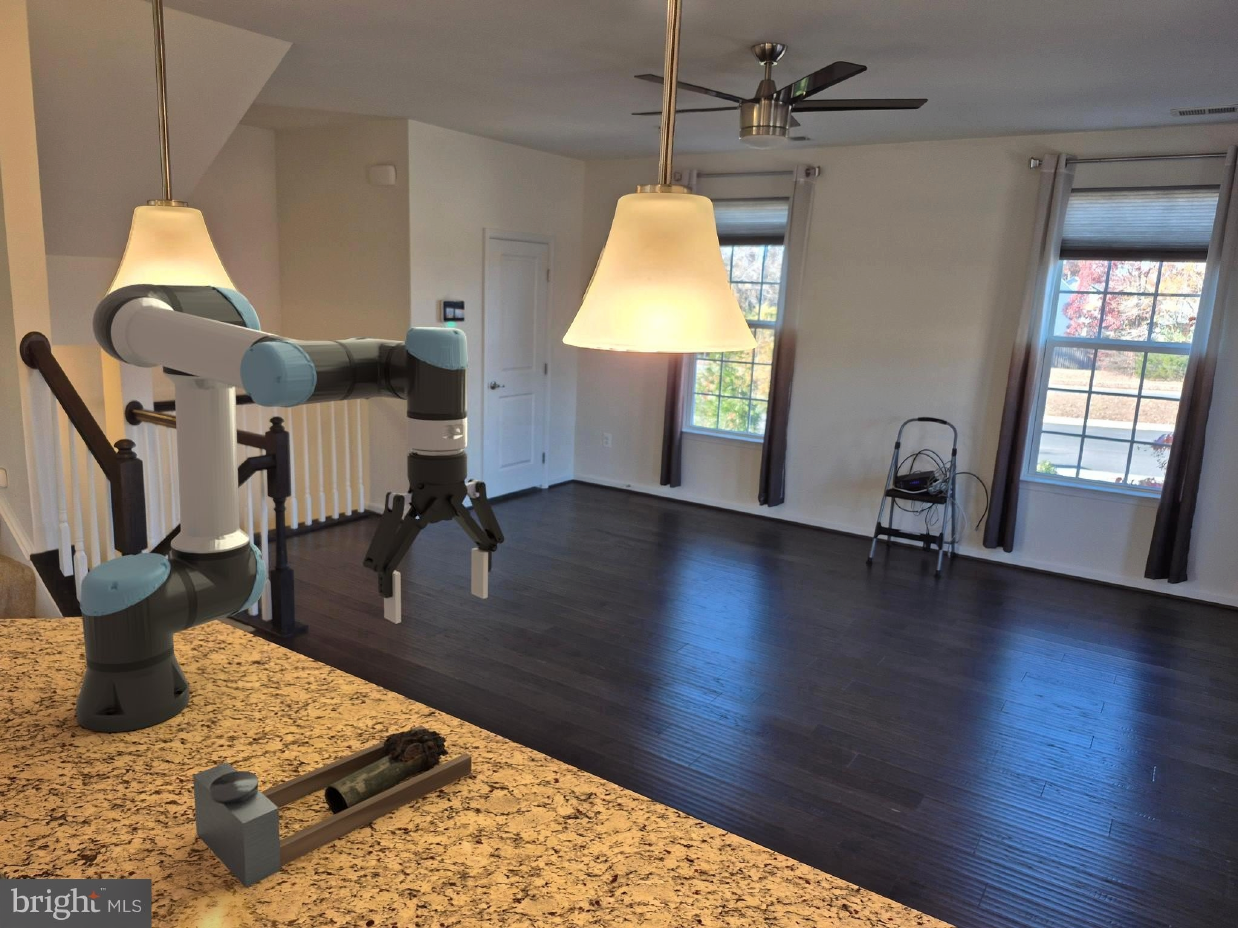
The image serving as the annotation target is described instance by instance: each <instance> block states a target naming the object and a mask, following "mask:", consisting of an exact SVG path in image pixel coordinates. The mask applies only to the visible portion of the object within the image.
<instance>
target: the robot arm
mask: <svg viewBox="0 0 1238 928" xmlns="http://www.w3.org/2000/svg"><path fill="white" fill-rule="evenodd" d="M92 332H93V334H94V339H95V340H96V342H97V344H99V346H100V348H101V349H102V350H103V351H104V352H105V353H107V355H109V356H110V357H112V358H113V359H115V360H117V361H119V362H123V363H124V364H128V365H131V366H135V367H138V368H146V369H148V368H149V369H150V368H157V367H159V366H162V374H163V375H164V376H165V377H166V379H168V380H169V381H170V382H172V384H173V385H174V399H175V400H174V402H175V403H174V404H175V423H176V424H175V425H176V428H175V429H176V446H177V447H176V448H177V450H176V451H177V472H178V473H177V475H178V496H179V497H178V498H179V515H180V517H179V520H180V532H178V534H177V535H175V537H174V538H173V539H171V542H170V557H169V558H167V557H166V556H164V555H163V554H161V553H155V552H141V553H138V554H136V555H135V554H128V555H123V556H119V557H115V558H112V559H110V560H107V561H104V562H102V563H100V564H98V565H97V566H96V565H95V567H93V568H92V569H91V570H89V571H88V572H87V573H86V575H85V576H84V577H83V578H82V580H81V583H80V601H79V608H80V610H81V619H82V627H83V628H82V629H83V638H84V639H83V640H84V641H83V643H84V651H85V659H86V660H85V661H86V664H85V665H86V670H85V673H84V676H83V681H82V683H81V686H80V690H79V694H78V697H77V701H76V704H75V705H76V706H75V709H76V719H77V720H76V721H77V723H78V724H79V725H80V726H81V727H83V728H85V729H88V730H91V731H94V732H100V733H101V732H102V733H103V732H104V733H118V732H119V733H120V732H121V733H122V732H129V731H135V730H139V729H143V728H144V729H145V728H148V727H151V726H155V725H157V724H160V723H162V722H164V721H167V720H170V719H172V718H173V717H175V716H176V715H178V714H180V713H181V712H182V711H183V710H184V709H186V707H187V706H188V704H189V702H190V698H191V697H190V686H189V683H188V680H187V677H186V675H185V674H184V672H183V669H182V668H181V665H180V664H179V662H178V660H177V657H176V655H175V645H174V644H175V643H174V635H175V634H176V633H179V632H182V631H186V630H188V629H189V630H190V629H192V628H195V627H198V626H201V625H204V624H207V623H210V622H214V621H217V620H220V619H224V618H229V617H233V616H235V615H236V614H238V613H240V612H243V611H245V610H248V609H251V607H253V606H254V605H255V604H256V603H257V602H258V601H259V599H260V598H261V597H262V595H263V592H265V591H264V590H265V587H266V583H267V567H266V563H265V562H266V561H265V559H262V557H263V554H262V552H261V550H260V549H259V548H258V546H257V545H256V544H254V543H252V542H251V540H250V539H251V538H250V535H248V533H247V532H245V531H244V530H243V529H241V528H240V510H239V509H240V508H239V507H240V506H239V505H240V503H239V498H240V497H239V470H238V469H239V468H238V467H239V466H238V463H239V462H238V434H237V433H238V430H237V429H238V427H237V396H236V392H237V391H236V390H237V389H236V388H238V389H241V390H244V391H245V393H246V395H247V396H248V397H250V398H251V400H252V402H253V403H255V404H257V405H258V406H261V407H265V408H272V407H275V408H277V407H280V408H293V407H298V406H303V405H313V404H321V403H329V402H338V401H339V402H341V401H353V400H360V399H361V400H363V399H373V398H387V399H396V400H397V399H399V400H402V401H406V446H407V447H408V448H409V449H411V450H410V451H408V453H407V455H406V456H407V457H406V459H407V461H406V462H407V463H406V464H407V471H406V472H407V474H406V475H407V478H408V479H407V480H408V483H409V487H408V490H407V492H406V493H405V492H404V493H403V492H401V493H398V492H394V491H388V492H387V493H386V494H385V500H384V510H383V513H382V515H381V517H380V519H379V523H378V525H377V527H376V529H375V532H374V534H373V537H372V538H371V539H372V540H371V541H370V544H369V546H368V549H367V552H366V554H365V557H364V559H363V562H362V566H363V567H364V568H366V569H368V570H370V571H372V572H374V573H377V577H378V578H377V579H378V580H377V584H378V587H377V590H378V595H379V596H380V597H382V598H383V611H384V612H383V616H384V619H386V620H388V621H390V622H392V623H394V624H399V623H402V600H401V599H402V591H401V588H402V587H401V584H402V583H401V581H402V580H401V572H400V571H397V570H396V569H398V566H399V564H401V562H402V560H403V559H404V557H405V555H406V554H407V552H408V551H409V550H410V548H411V546H412V545H413V543H414V541H415V540H416V538H417V537H418V536H419V534H420V532H421V531H422V530H424V529H425V528H427V526H428V524H437V523H439V522H441V521H446V522H447V521H452V520H453V519H454V520H455V521H456V523H457V524H458V525H459V526H460V528H461V529H463V531H464V532H465V533H466V535H467V536H468V537H469V539H471V540H472V541H473V542H474V544H475V545H476V546H477V547H474V548H471V562H470V563H471V575H470V576H471V582H470V583H471V585H470V587H471V588H470V589H471V590H470V591H471V592H470V593H471V595H474V596H476V597H478V598H480V599H482V600H483V599H488V596H489V595H488V592H489V591H488V589H489V587H488V586H489V573H491V571H492V569H493V567H492V563H493V562H492V559H493V558H492V556H493V553H495V552H496V551H497V550H498V544H499V545H502V544H503V543H504V542H505V536H504V534H503V531H502V529H501V527H500V524H499V522H498V519H497V518H496V515H495V513H494V510H493V509H492V506H491V503H490V502H489V499H488V497H487V495H488V494H487V485H486V482H484V481H482V480H477V479H474V478H470V479H468V481H467V482H466V481H465V480H466V479H467V478H468V453H467V452H466V450H464V449H466V447H467V446H468V381H469V367H470V362H469V355H468V340H467V335H466V333H465V331H463V330H462V329H460V328H455V327H454V328H453V327H439V326H438V327H434V326H413V327H409V329H407V331H406V333H405V334H406V335H405V341H403V340H401V341H400V340H391V339H390V340H389V339H383V338H376V337H371V336H369V337H365V336H364V337H351V338H348V339H340V340H339V339H338V340H337V339H335V340H333V339H331V340H330V339H329V340H328V339H327V340H300V339H294V338H291V337H286V336H282V335H281V336H280V335H278V334H274V333H269V332H265V331H263V330H262V328H261V323H260V320H259V316H258V314H257V312H256V310H255V308H254V306H253V305H252V304H250V301H249V300H248V299H247V297H246V296H244V295H243V294H242V293H240V291H237V290H235V289H232V288H229V287H227V288H226V287H222V286H221V287H220V286H214V285H213V286H212V285H210V284H209V285H182V284H181V285H178V284H175V285H174V284H152V283H137V284H136V283H135V284H130V285H125V286H122V287H120V288H119V287H118V288H117V289H115V290H113V291H111V292H110V293H108V294H106V296H105V297H103V298H102V299H101V300H100V302H99V303H98V304H97V306H96V308H95V310H94V313H93V318H92ZM466 497H468V498H469V501H470V504H471V506H472V507H473V510H474V512H475V514H476V516H477V518H478V519H477V520H478V521H479V523H480V525H479V524H478V523H477V521H476V520H475V519H474V517H472V515H471V512H470V511H469V510H468V508H467V507H466V506H465V505H464V504H463V503H464V501H465V499H466ZM408 505H409V506H410V508H409V509H408ZM407 509H408V511H407ZM405 511H407V512H406V514H405V515H404V512H405ZM417 517H418V518H417ZM402 519H403V522H402V524H401V521H402ZM400 524H401V525H400ZM481 527H482V528H481Z"/></svg>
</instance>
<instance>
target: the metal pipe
mask: <svg viewBox="0 0 1238 928" xmlns="http://www.w3.org/2000/svg"><path fill="white" fill-rule="evenodd" d="M406 731H407V732H406ZM406 731H403V730H402V731H401V732H397V733H391V734H390V735H389V736H388V737H387V738H386V739H385V742H384V746H383V750H382V752H381V753H380V755H379V760H378V761H376V762H374V763H372V764H370V765H368V766H366V767H364V768H363V769H360V770H358V771H356V772H354V773H353V774H351V775H349V776H347V777H345V778H343V779H341V780H339V781H337V782H335V783H333V784H331V785H329V786H328V787H326V788H325V790H324V799H325V802H326V805H327V807H328V809H329V810H330V812H331V813H332V814H333V815H335V814H337V813H339V812H342V811H344V810H346V809H348V808H350V807H352V806H354V805H356V804H359V803H361V802H363V801H365V800H367V799H369V798H371V797H373V796H376V795H378V794H380V793H382V792H384V791H386V790H388V789H390V788H393V787H395V786H397V785H399V784H401V783H403V782H405V780H407V779H408V778H409V779H410V777H413V776H416V775H417V774H420V773H425V772H427V771H429V770H431V769H433V768H435V767H436V766H438V765H439V764H440V758H441V757H445V756H447V755H448V754H449V751H447V749H446V748H445V747H446V744H445V743H447V739H446V737H445V736H442V735H440V732H437V731H436V730H428V729H427V728H426V729H419V730H411V729H408V730H406Z"/></svg>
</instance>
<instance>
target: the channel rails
mask: <svg viewBox="0 0 1238 928" xmlns="http://www.w3.org/2000/svg"><path fill="white" fill-rule="evenodd" d="M419 729H426V730H427V727H425V726H423V725H422V724H421V725H418V726H416V727H414V728H413V727H412V728H411V729H410V730H419ZM407 731H408V730H406V731H405V732H407ZM385 740H386V739H385ZM385 740H382V741H380V742H378V743H375V744H373V745H370V746H367V747H365V748H363V749H360V750H358V751H355V752H354V753H351V754H348V755H347V756H344V757H342V758H339V759H336V760H334V761H332V762H329V763H327V764H324V765H322V766H320V767H317V768H315V769H312V770H310V771H308V772H306V773H303V774H301V775H299V776H298V775H297V776H296V777H294V778H292V779H288V780H287V781H283V782H282V783H279V784H276V785H274V786H271V787H270V788H267V789H265V790H263V791H260V792H261V793H262V794H263V795H265V796H266V797H267V798H268V799H269V800H270V801H271V802H272V803H274V804H275V805H276V806H277V807H278V809H280V808H283V807H285V806H287V805H289V804H292V803H294V802H296V801H298V800H301V799H304V798H305V797H308V796H310V795H312V794H315V793H317V792H319V791H321V790H324V789H326V788H327V787H328V786H329V785H331V784H333V783H335V782H337V781H339V780H341V779H343V778H345V777H347V776H349V775H351V774H353V773H354V772H356V771H358V770H360V769H363V768H364V767H366V766H368V765H370V764H372V763H374V762H376V761H378V760H379V755H380V753H381V752H382V750H383V746H384V742H385ZM472 758H473V757H472V755H471V754H468V753H467V752H465V753H463V754H461V755H459V756H456V757H454V758H453V759H450V760H448V761H446V762H444V763H442V764H440V765H439V764H438V765H436V766H434V768H433V769H431V770H429V771H427V772H421V774H420V773H419V774H418V775H415V777H412V778H409V779H408V780H407V779H406V781H405V780H404V781H402V782H401V783H399V784H398V785H396V786H394V787H393V788H390V789H388V790H386V791H384V792H382V793H380V794H378V795H376V796H373V797H371V798H369V799H367V800H365V801H363V802H361V803H359V804H356V805H354V806H352V807H350V808H348V809H346V810H344V811H342V812H339V813H337V814H335V815H334V814H333V815H331V816H329V817H327V818H325V819H323V820H320V821H318V822H316V823H314V824H311V825H309V826H308V827H305V828H304V829H301V830H300V831H297V832H295V833H292V834H291V835H289V836H286V837H284V838H282V839H280V863H281V867H283V866H285V865H288V864H289V863H291V862H293V861H295V860H297V859H300V858H301V857H304V856H306V855H307V854H310V853H311V852H314V851H316V850H318V849H320V848H322V847H324V846H326V845H328V844H330V843H332V842H333V841H336V840H338V839H340V838H342V837H344V836H346V835H348V834H350V833H352V832H354V831H355V830H358V829H360V828H362V827H364V826H367V825H368V824H370V823H372V822H374V821H376V820H378V819H380V818H383V817H385V816H386V814H387V815H388V814H390V813H393V812H395V811H397V810H399V809H400V807H401V808H402V806H403V807H405V806H407V805H409V804H410V803H413V802H415V801H417V800H419V799H421V798H423V797H424V796H426V795H427V796H428V795H429V794H431V793H433V792H435V791H437V790H439V789H441V788H443V787H446V786H447V785H449V784H451V783H453V782H455V781H457V780H459V779H461V778H463V777H465V776H467V775H469V774H472ZM422 796H423V797H422ZM412 801H413V802H412ZM406 804H407V805H406ZM396 809H397V810H396Z"/></svg>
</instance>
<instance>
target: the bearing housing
mask: <svg viewBox="0 0 1238 928" xmlns="http://www.w3.org/2000/svg"><path fill="white" fill-rule="evenodd" d="M192 776H193V777H192V778H193V779H192V780H193V794H194V797H193V798H194V811H195V828H196V829H195V830H196V836H197V837H198V838H199V839H200V840H201V841H202V842H203V843H204V844H205V846H206V847H207V848H208V849H209V850H210V851H211V852H212V853H213V854H214V855H215V856H216V857H217V858H218V859H219V861H220V862H221V863H222V864H223V865H224V866H225V867H226V868H227V869H228V870H229V871H230V872H231V874H232V875H233V876H234V877H235V878H236V879H237V880H238V881H239V882H240V883H241V884H242V885H243V886H244V888H245V889H247V888H249V887H251V886H253V885H255V884H257V883H258V882H261V881H263V880H265V879H266V878H268V877H271V876H273V875H275V874H277V873H279V872H281V870H282V866H281V863H280V840H281V839H280V815H279V813H280V812H279V811H280V810H279V809H280V808H278V807H277V806H276V805H275V804H274V803H272V802H271V801H270V800H269V799H268V798H267V797H266V796H265V795H263V794H262V793H261V792H262V791H260V790H259V778H258V775H257V774H255V773H253V772H250V771H247V770H236V769H235V768H234V767H233V766H232V765H231V764H230V763H229V762H228V761H226V762H224V763H221V764H218V765H215V766H213V767H211V768H208V769H206V770H202V771H200V772H197V773H195V774H193V775H192Z"/></svg>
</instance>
